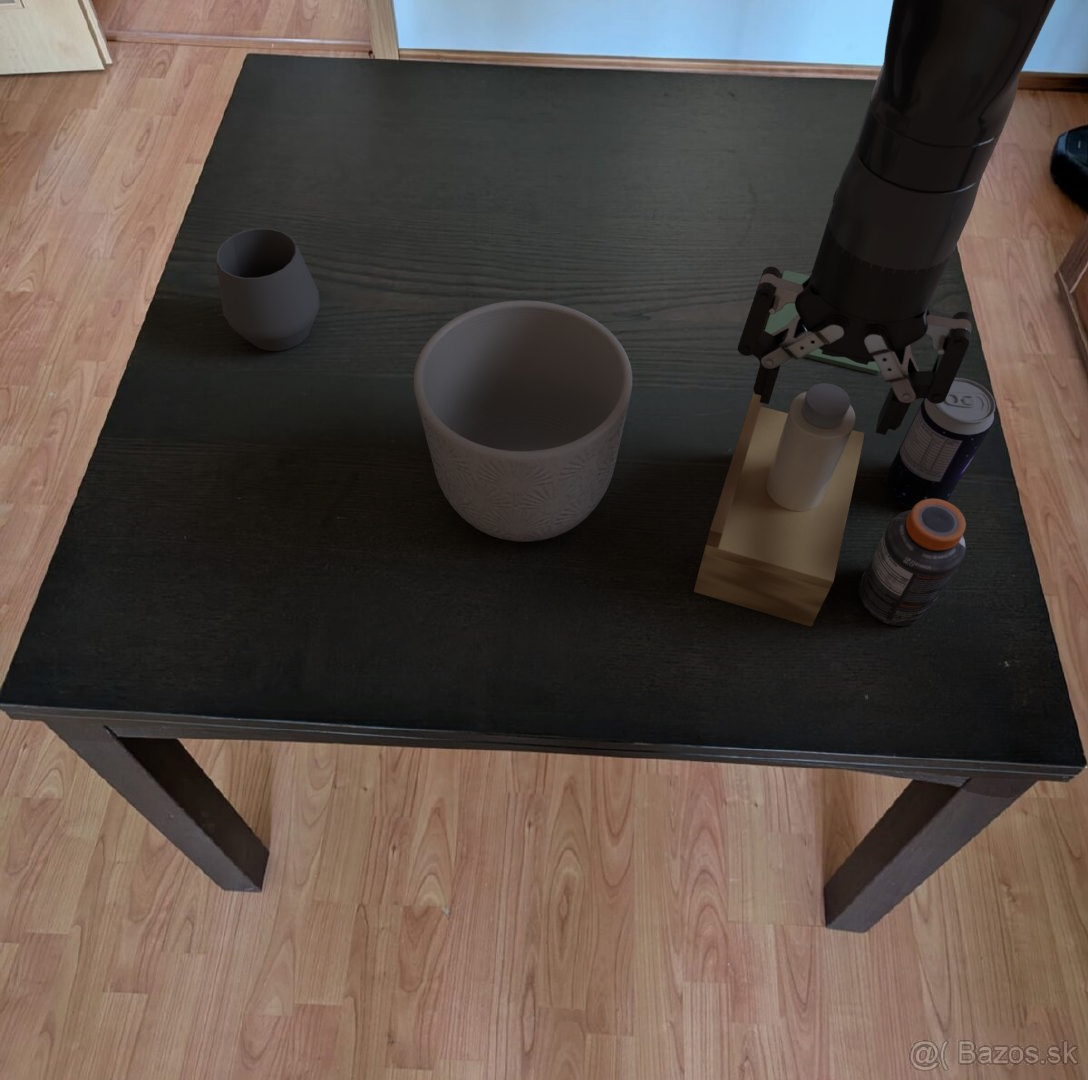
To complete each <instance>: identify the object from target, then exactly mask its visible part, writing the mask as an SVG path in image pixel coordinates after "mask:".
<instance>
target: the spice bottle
mask: <svg viewBox="0 0 1088 1080" xmlns="http://www.w3.org/2000/svg"><path fill="white" fill-rule="evenodd" d="M787 413H788V415H787V418H786V421H785V424H784V427H783V430H782V433H781V436H780V439H779V442H778V445H777V448H776V452H775V455H774V458H773V461H772V464H771V467H770V470H769V473H768V476H767V479H766V489H767V492H768V494H769V496H770V497H771V499H772V500H773V501H774V502H775V503H777V504H778V505H780V506H781V507H783V508H786V509H789V510H793V511H807V510H810V509H813V508H815V507H816V506H818V505H819V504H820V503H821V502H822V501H823V499H824V496H825V494H826V492H827V489H828V487H829V484H830V482H831V480H832V477H833V475H834V472H835V470H836V468H837V465H838V463H839V460H840V458H841V456H842V453H843V451H844V448H845V446H846V444H847V441H848V439H849V436H850V434H851V432H852V430H854V428H855V424H856V412H855V410H854V408H853V406H852V405H851V399H850V396H849V395H848V393H847V391H845V390H844V389H843V388H841V386H838V385H835V384H832V383H827V382H824V383H823V382H822V383H816V384H814V385H812V386H811V387H809V388H808V390H806V391H803V392H801V393H800V394H798V395H797V396H795V397H794V398H793V400H792V401H791V403H790V406H789V409H788V412H787Z"/></svg>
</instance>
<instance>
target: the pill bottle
mask: <svg viewBox="0 0 1088 1080" xmlns="http://www.w3.org/2000/svg"><path fill="white" fill-rule="evenodd" d="M966 527H967V523H966V519H965V516H964V514H963V513H962V512H961V510H960V509H959V508H958V507H957V506H955V505H954V504H952V503H950V502H949V501H948V500H947V501H944V500H940V499H925V500H922V501H920V502H918V503H917V504H916V505H915V506H914V507H913V508H911V509H908V510H905V511H902V512H900V513H899V514H897V515H896V516H895V517H893V519H892V520H891V521H890V522H889V524H888V525H887V527H886V529H885V531H884V533H883V534H882V536H881V539H880V541H879V543H878V544H877V547H876V549H875V550H874V552H873V554H872V556H871V558H870V560H869V562H868V564H867V566H866V568H865V570H864V572H863V574H862V575H861V577H860V580H859V583H858V597H859V600H860V602H861V604H862V606H863V607H864V609H865V610H866V611H867V612H868V613H869V614H870V616H872V617H874V618H875V619H876V620H878V621H880V622H883V623H885V624H887V625H890V626H896V627H906V626H911V625H916V624H917V623H919V622H920V621H921V620H923V619H924V618H925V617H927V615H928V614H929V613H930V611H931V609H932V608H933V606H934V604H935V603H936V601H937V600H938V598H939V596H940V595H941V594H942V592H943V591H944V589H945V587H946V586H947V584H948V583H949V581H950V580H951V578H952V577H953V575H954V574H955V572H956V571H957V569H959V566H960V565H961V563H962V562H963V560H964V558H965V554H966V539H965V537H964V533H965V531H966Z"/></svg>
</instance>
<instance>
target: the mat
mask: <svg viewBox="0 0 1088 1080" xmlns="http://www.w3.org/2000/svg"><path fill="white" fill-rule="evenodd" d="M810 276H811V275H808V274H804V273H799V272H795V271H790V270H783V272H782V274H781V277H780V278H781V279H784V280H788V281H791V282H794V283H798V284H801V285H802V284H803V283H804V282H805V281H806V280H807V279H808V278H809V277H810ZM796 315H798V313H797V311H796V308H795V304H794V303H788V304H786V305H784V306H783V308H782V309H781V310H780V311H778V312H776V313H775V314H770V313H769V314H768V317H767V318H768V319H767V322H766V325H765V328H764V331H766V332H768V333H770V334H772V333H774V332H776V331H777V330H779V329H781V328H783V327H784V326H786V325H788V324H789V323H790V322H791V320H792V319H793V318H794V317H795V316H796ZM802 358H806V359H811V360H815V361H818V362H822V363H827V364H831V365H834V366H839V367H841V368H842V367H843V368H847V369H851V370H855V371H859V372H863V373H866V374H871V375H876V376H879V373H880V370H879V368H878V366H877V364H876V362H868V365H865V364H861V363H857V362H854V361H852V360H850V359H848V358H846V357H832V356H828V355H824V354H822V350H820V349H819V348H818V349H816V350H814V351H812V352H810V353H809V354H807V355H805V356H803V357H802Z"/></svg>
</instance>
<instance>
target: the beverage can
mask: <svg viewBox="0 0 1088 1080" xmlns="http://www.w3.org/2000/svg"><path fill="white" fill-rule="evenodd" d="M995 410H996V402H995V398H994V396H993V395H992V393H991V392H990V391H989V389H987V388H986V387H985V386H983V385H982V384H980V383H979V382H976V381H974V380H971V379H968V378H962V377H955V379H954V381H953V383H952V386H951V388H950V390H949V393H948V395H947V397H946V399H945V401H944V402H942V403H938V404H935V403H931V402H930V401H928V399H927V398H922V401H921V404H920V405H919V408H918V410H917V412H916V414H915V416H914V418H913V419H912V421H911V424H910V426H909V428H908V429H907V432H906V434H905V436H904V438H903V440H902V442H901V445H900V446H899V449H898V451H897V452H896V454H895V457H894V459H893V461H892V463H891V465H890V467H889V469H888V471H887V472H886V477H885V479H886V480H885V481H886V486H887V488H888V490H889V492H890V493H891V495H892V496H893V497H894V498H895V499H896V500H897V501H898V502H899V503H901V504H902V505H904V506H906V507H908V508H911V509H913V507H914V506H915V505H916V504H917V503H918V502H920V501H922V500H925V499H940V500H944V501H947V502H948V500H949V499H950V497H951V496H952V494H953V492H954V490H955V489H956V488H957V486H958V483H959V482H960V481H961V479H962V477H963V476H964V474H965V472H966V470H967V468H968V466H969V465H970V463H971V462H972V460H973V459H974V457H975V456H976V454H977V452H978V450H979V449H980V447H981V445H982V443H983V442H984V441H985V438H986V437H987V435H988V433H989V432H990V430H991V428H992V427H993V425H994V423H995Z"/></svg>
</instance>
